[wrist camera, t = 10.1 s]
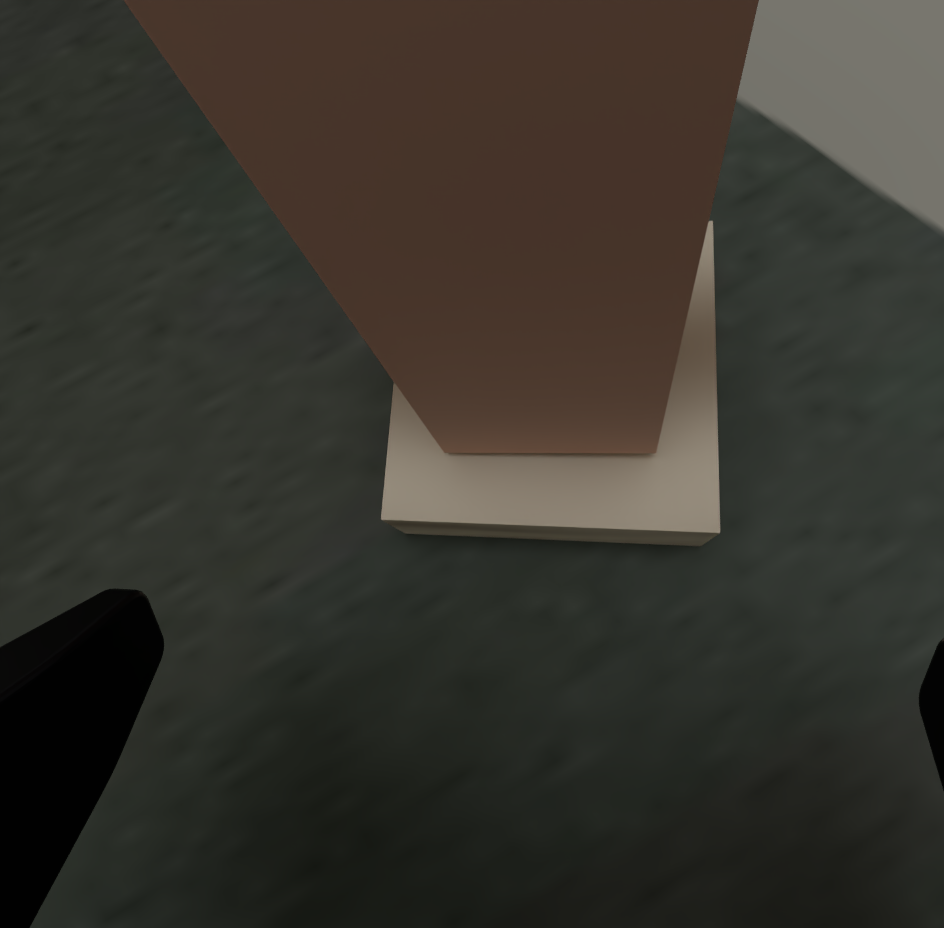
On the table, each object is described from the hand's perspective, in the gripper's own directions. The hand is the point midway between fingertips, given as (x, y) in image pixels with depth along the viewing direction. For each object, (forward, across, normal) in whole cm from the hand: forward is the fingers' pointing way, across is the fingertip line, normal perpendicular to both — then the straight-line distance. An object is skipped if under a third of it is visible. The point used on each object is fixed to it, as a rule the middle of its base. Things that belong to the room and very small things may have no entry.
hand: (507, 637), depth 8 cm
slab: (+12, 0, +3) cm, 13 cm away
